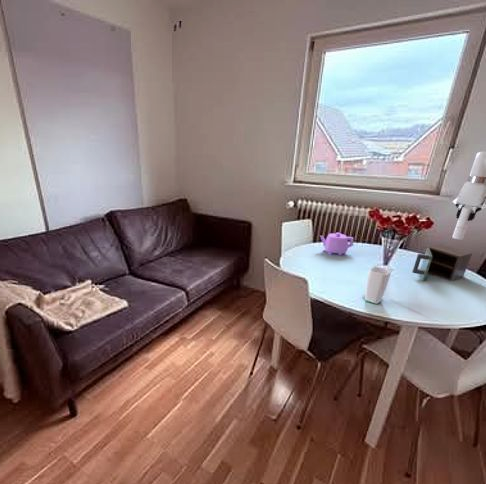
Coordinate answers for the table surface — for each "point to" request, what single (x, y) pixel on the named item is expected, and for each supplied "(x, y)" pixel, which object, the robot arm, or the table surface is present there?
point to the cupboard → (448, 262)
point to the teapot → (337, 243)
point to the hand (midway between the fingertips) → (464, 218)
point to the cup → (376, 284)
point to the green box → (423, 264)
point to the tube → (462, 223)
